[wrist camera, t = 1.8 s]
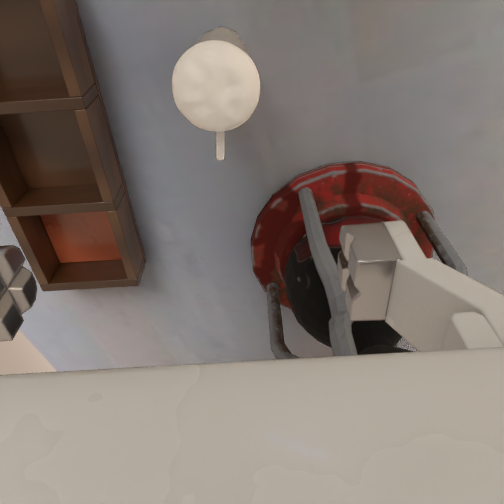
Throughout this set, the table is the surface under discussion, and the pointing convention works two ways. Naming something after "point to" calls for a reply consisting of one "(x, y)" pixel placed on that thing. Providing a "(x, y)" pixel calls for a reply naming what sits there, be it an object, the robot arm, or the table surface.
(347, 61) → the table surface
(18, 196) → the compartment tray
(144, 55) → the table surface
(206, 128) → the milkshake
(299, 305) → the hourglass
